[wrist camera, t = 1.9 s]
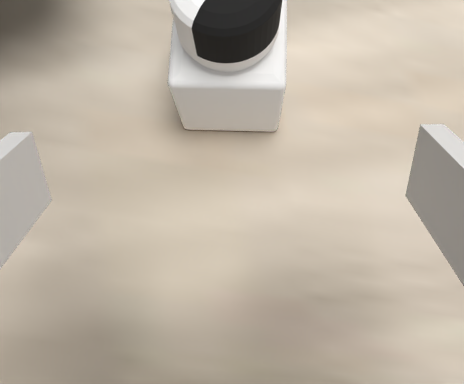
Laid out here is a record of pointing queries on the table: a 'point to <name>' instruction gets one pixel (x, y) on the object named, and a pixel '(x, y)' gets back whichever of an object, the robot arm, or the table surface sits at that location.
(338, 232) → the table surface
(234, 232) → the table surface
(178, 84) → the medicine bottle
